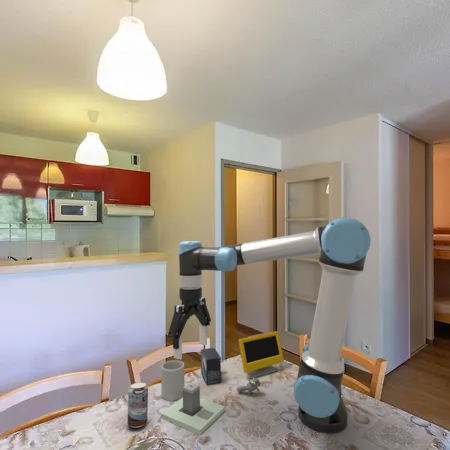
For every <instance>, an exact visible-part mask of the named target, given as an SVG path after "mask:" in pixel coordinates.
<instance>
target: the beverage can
mask: <svg viewBox="0 0 450 450" xmlns="http://www.w3.org/2000/svg"><path fill="white" fill-rule="evenodd" d="M148 404H149V387H148V385H147V383H145V382H134V383H132V384H131V385H130V387H129V389H128V391H127V423H126V424H127V425H128V426H129V427H131V428H134V429H136V428H137V429H139V428H141V427H143V426H145V424H146V423H147V422H148V411H149V410H148V409H149V407H148V406H149V405H148Z"/></svg>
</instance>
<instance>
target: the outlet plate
mask: <svg viewBox="0 0 450 450" xmlns="http://www.w3.org/2000/svg"><path fill="white" fill-rule="evenodd" d="M225 411H226V406H225V405H221V404H218V403H217V402H216V403H215V402H213V401H210V400H207V399H205V398H203V397H200V411H199V412H197V413H196V414H195V415H194V416H193V417H192V416H190V415H187V414H185V413H183V397H182V398H180V399H178V400H176V401H175V402H174V403H173V404H171V405H170V406H169V407H167V408H166V409H164V410H163V411H162V412H161V413H160V419H163V420H166V421H168V422H170V423H171V424H175V425H176V426H179V427H181V428H184V429H186V430H188V431H190V432H193V433H195V434H197V435H200V436H201V435H202V434H203V433H204V432H205V431H206V430H207V429H208V428H209V427H210V426H212V424H213V423H214V422H215V421H216V420H218V419H219V417H220V416H221V415H223V413H225Z"/></svg>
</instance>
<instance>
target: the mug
mask: <svg viewBox="0 0 450 450" xmlns="http://www.w3.org/2000/svg"><path fill="white" fill-rule="evenodd" d="M160 374H161V375H160V377H161V394H160V396H161V398H162V400H164V401H167V402H173V401H178V400H180V399H181V398H182V397H183V387H184V386H185V363H184V362H183V361H181V360H179V359H176V360H175V359H174V360H173V359H172V360H167V361H165V362H163V363H162V364H161V372H160Z"/></svg>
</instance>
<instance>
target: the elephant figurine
mask: <svg viewBox="0 0 450 450" xmlns="http://www.w3.org/2000/svg"><path fill="white" fill-rule="evenodd" d="M252 381H253V382H251V380H250V379H249V380H248V383H246V385H243V386H237V387H236V391H237V392H238V393H242V392H245V391H248V395H247V397H249V395H250V394H251V393H253V392H255V391H256V390H257V391H260V389H259V387H260V386H261V385H262V382H261V381H260V379H258V377H255V378H254V377H253V378H252Z"/></svg>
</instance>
